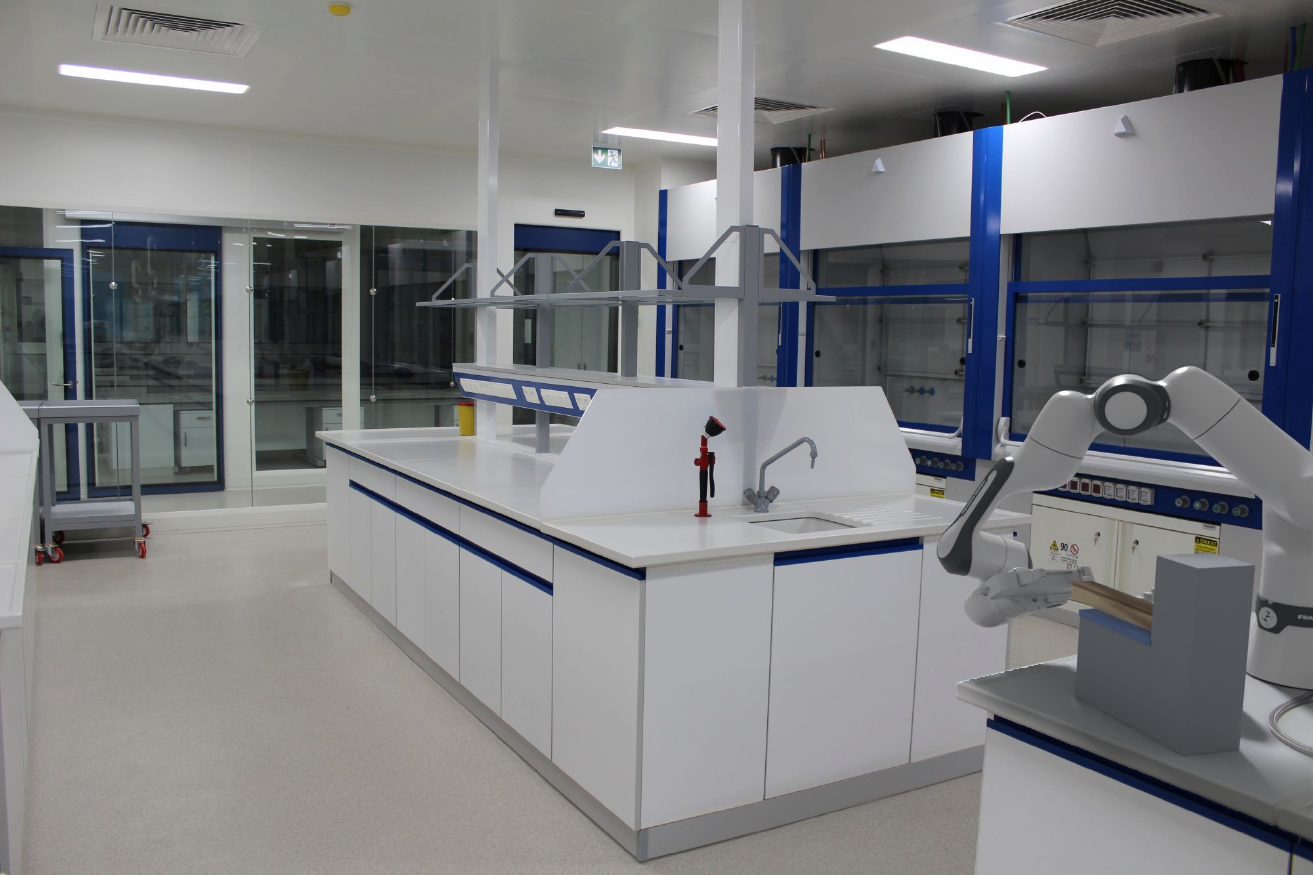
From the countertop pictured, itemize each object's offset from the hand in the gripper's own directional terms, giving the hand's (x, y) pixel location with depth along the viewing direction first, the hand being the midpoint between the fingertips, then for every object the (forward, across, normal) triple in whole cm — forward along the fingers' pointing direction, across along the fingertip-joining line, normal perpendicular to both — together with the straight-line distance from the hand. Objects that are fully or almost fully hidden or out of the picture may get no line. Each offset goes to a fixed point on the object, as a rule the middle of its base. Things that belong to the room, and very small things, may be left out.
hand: (1065, 571), depth 176 cm
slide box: (+11, 0, +10) cm, 15 cm away
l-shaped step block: (+10, 0, +27) cm, 29 cm away
